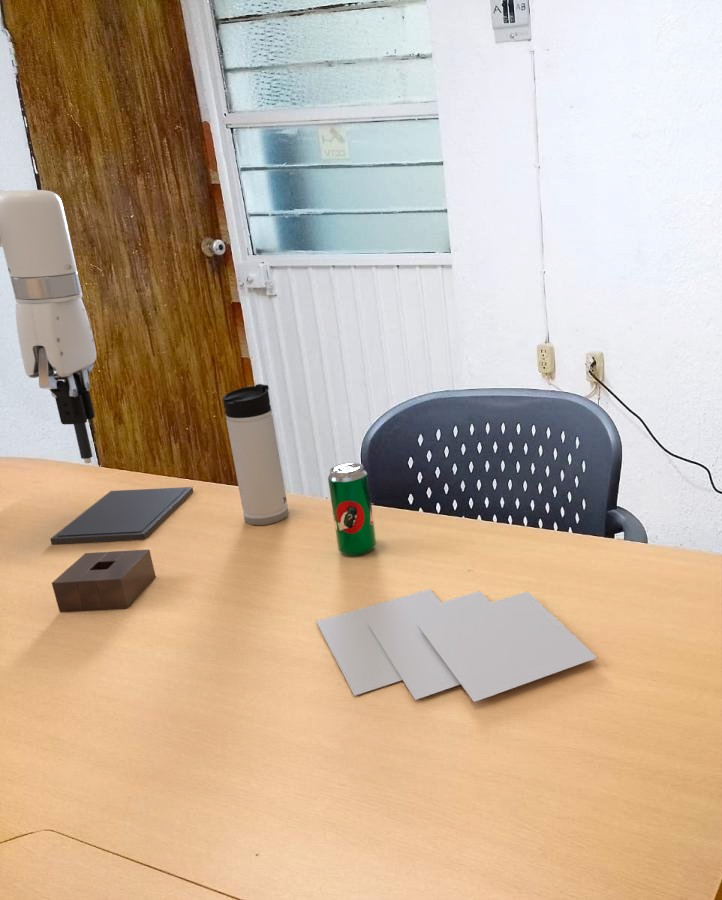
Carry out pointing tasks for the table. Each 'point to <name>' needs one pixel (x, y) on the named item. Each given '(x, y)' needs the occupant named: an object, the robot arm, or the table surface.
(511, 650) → the paper stack
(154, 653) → the table surface
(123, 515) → the tablet
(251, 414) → the travel mug
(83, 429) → the stylus
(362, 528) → the soda can
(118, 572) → the holder
